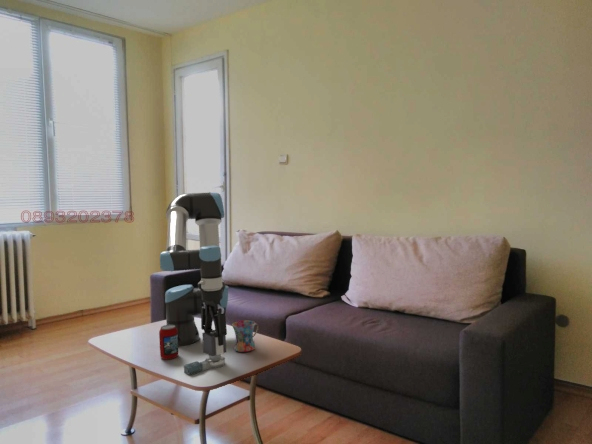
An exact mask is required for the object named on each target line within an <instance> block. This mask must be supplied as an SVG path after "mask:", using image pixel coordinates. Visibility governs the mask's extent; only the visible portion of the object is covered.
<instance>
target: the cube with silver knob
mask: <svg viewBox="0 0 592 444" xmlns="http://www.w3.org/2000/svg"><path fill="white" fill-rule="evenodd" d="M215 336H217V335H216V330H215V329H213V330H212V331H208V332H204V331H203V332H202V336H201V337H202V351H203V353H204V354H206V355H208V356H209V355H210V356H215V355H216V343H215ZM226 336H227V335H224V336H223V352H224V353H227V340H226V338H227V337H226ZM224 353H223V354H224Z"/></svg>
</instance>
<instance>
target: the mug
mask: <svg viewBox="0 0 592 444" xmlns="http://www.w3.org/2000/svg"><path fill="white" fill-rule="evenodd" d="M231 326H232V329H233V332H234V334H235V343H234V347H233V349H234V351H236V352H240V353H246V352H251V351H254V350H255V349H256V344H255V342H254V339H253V338H254V337H255V336H256V335H257V333H258V331H259V327H260V326H259V323H256V322H255V321H253V320H248V319H247V320H246V319H245V320H238V321H234V322H233V323H232V324H231ZM255 326H256V331H254V329H255Z"/></svg>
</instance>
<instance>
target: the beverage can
mask: <svg viewBox="0 0 592 444" xmlns="http://www.w3.org/2000/svg"><path fill="white" fill-rule="evenodd" d="M158 335H159V337H158V339H159V351H160V352H159V353H160V358H162V359H163V360H172V359H173V360H174V359H175V358H177V356H179V346H178V334H177V329H176V327H175V325H166V324H165V325H162V326H160V329H159V333H158Z"/></svg>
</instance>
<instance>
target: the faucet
mask: <svg viewBox="0 0 592 444" xmlns="http://www.w3.org/2000/svg"><path fill="white" fill-rule="evenodd" d="M225 365H226V358H225V357H224V356H223V355H222V354H219V355H215V356H210V355H208V357H207V358H205V360H203V361H200V362H199V360H196V361H193V362H190V363H187V364H183V372H184V373H185V374H186V375H188V376H192V375H195V374H198V373H202V372H204V371H206V370H210V369H218V368H222V367H224V366H225Z"/></svg>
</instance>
